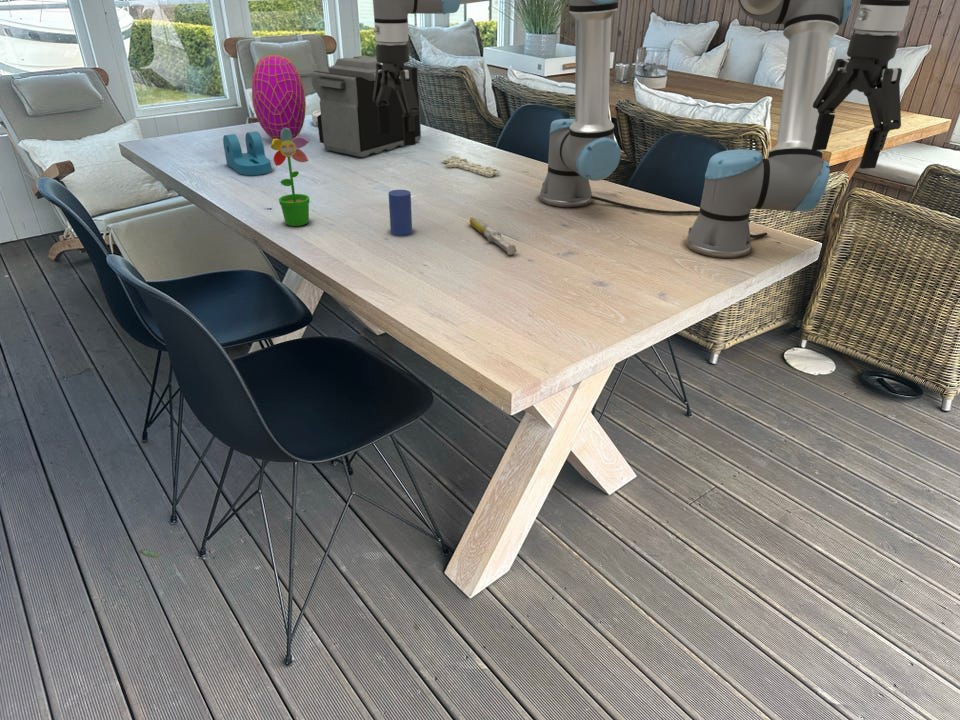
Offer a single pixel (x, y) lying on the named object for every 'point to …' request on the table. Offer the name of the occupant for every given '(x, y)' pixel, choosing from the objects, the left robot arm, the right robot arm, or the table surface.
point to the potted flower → (291, 178)
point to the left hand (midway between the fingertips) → (396, 139)
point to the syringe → (492, 235)
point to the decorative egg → (278, 96)
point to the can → (400, 212)
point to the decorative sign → (470, 166)
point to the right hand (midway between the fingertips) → (841, 158)
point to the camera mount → (246, 154)
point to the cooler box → (358, 108)
